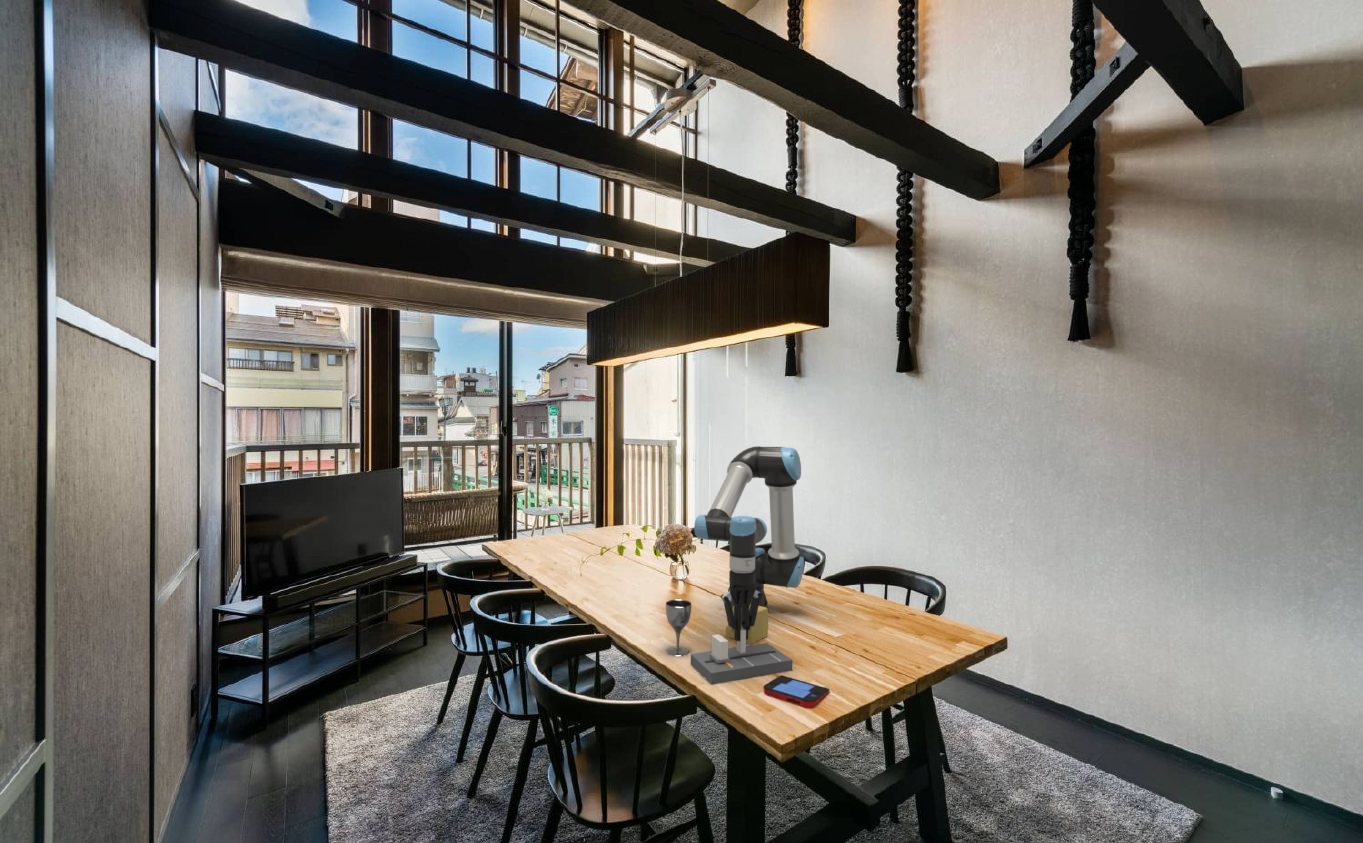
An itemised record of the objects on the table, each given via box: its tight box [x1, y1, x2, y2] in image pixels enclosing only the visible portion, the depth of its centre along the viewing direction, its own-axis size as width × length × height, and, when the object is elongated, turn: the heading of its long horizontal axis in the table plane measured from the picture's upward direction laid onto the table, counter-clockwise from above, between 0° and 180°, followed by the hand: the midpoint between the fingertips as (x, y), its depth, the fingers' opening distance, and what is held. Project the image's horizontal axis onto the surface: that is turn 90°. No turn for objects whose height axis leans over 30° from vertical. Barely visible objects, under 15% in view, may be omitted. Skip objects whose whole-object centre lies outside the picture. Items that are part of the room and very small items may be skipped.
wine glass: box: [665, 598, 692, 657], centre depth 174 cm, size 8×8×15 cm
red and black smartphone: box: [763, 674, 830, 709], centre depth 148 cm, size 14×13×2 cm
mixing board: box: [690, 642, 794, 685], centre depth 163 cm, size 26×14×3 cm, turn 113°
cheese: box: [725, 604, 769, 645], centre depth 188 cm, size 10×11×10 cm
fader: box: [709, 634, 730, 664], centre depth 160 cm, size 4×6×6 cm
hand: (741, 651), depth 163 cm, fingers closed
